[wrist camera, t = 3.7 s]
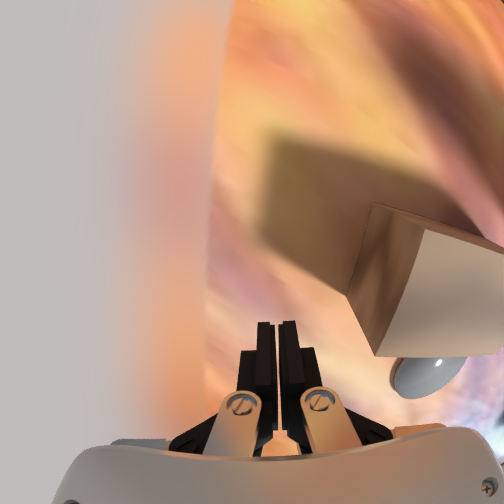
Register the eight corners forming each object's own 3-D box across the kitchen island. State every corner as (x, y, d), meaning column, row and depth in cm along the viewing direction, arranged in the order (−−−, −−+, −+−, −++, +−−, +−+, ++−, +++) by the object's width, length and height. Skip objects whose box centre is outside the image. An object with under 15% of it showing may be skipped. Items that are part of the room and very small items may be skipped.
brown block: (372, 201, 17) (425, 229, 10) (484, 237, 17) (537, 268, 10) (345, 295, 19) (374, 356, 13) (457, 310, 19) (498, 354, 13)
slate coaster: (406, 335, 20) (409, 339, 20) (477, 320, 20) (480, 323, 19) (384, 402, 23) (386, 406, 23) (450, 384, 22) (452, 388, 22)
